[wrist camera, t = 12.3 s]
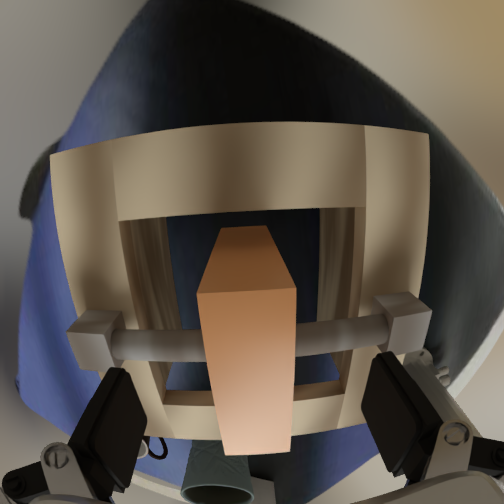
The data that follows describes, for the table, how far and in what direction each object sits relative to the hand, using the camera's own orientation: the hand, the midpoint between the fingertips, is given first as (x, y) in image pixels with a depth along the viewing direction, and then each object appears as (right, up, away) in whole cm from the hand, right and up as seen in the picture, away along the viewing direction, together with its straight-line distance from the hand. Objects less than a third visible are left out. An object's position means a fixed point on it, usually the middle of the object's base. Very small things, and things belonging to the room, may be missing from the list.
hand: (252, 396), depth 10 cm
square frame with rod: (-1, +6, +20) cm, 21 cm away
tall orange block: (0, +3, +11) cm, 11 cm away
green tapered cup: (-5, -25, +29) cm, 39 cm away
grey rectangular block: (+1, -42, +35) cm, 54 cm away
